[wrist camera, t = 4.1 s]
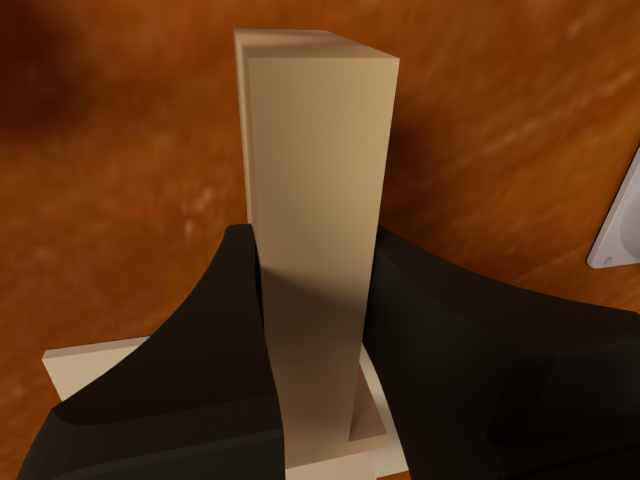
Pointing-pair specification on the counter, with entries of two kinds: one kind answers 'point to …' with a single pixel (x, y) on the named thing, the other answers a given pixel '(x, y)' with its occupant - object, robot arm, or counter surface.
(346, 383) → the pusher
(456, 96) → the counter surface
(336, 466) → the tile
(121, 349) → the mat
